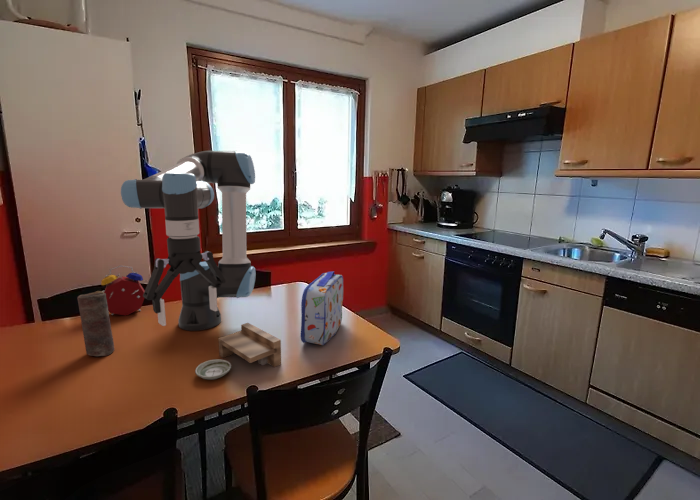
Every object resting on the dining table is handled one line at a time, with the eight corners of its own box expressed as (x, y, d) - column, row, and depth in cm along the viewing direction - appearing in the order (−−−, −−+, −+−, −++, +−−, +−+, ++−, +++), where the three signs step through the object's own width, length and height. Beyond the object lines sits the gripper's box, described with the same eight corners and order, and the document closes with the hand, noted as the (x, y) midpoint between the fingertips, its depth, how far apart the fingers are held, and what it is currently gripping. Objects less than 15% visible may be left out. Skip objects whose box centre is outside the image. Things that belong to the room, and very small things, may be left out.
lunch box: (320, 317, 148) (320, 264, 143) (345, 320, 146) (346, 266, 141) (297, 349, 121) (296, 285, 117) (327, 352, 119) (327, 288, 115)
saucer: (196, 387, 99) (195, 379, 99) (195, 370, 108) (194, 362, 107) (233, 380, 103) (233, 372, 102) (229, 363, 112) (229, 356, 111)
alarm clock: (146, 307, 155) (141, 261, 151) (147, 314, 148) (142, 266, 144) (104, 313, 147) (98, 265, 143) (103, 321, 140) (97, 270, 136)
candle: (83, 361, 111) (74, 298, 107) (87, 350, 118) (79, 291, 114) (113, 355, 115) (105, 294, 111) (115, 345, 121) (108, 287, 117)
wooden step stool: (219, 355, 116) (218, 332, 114) (248, 344, 123) (247, 322, 122) (251, 377, 104) (249, 351, 102) (281, 364, 111) (280, 339, 110)
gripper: (134, 244, 80) (143, 335, 84) (236, 232, 98) (239, 307, 102) (122, 240, 84) (131, 326, 89) (221, 229, 103) (225, 301, 107)
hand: (189, 316), depth 96 cm, fingers open, 13 cm apart
